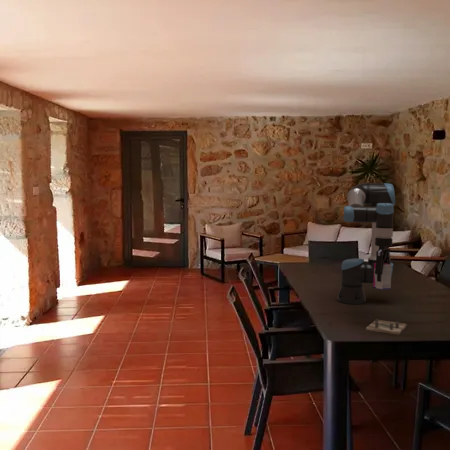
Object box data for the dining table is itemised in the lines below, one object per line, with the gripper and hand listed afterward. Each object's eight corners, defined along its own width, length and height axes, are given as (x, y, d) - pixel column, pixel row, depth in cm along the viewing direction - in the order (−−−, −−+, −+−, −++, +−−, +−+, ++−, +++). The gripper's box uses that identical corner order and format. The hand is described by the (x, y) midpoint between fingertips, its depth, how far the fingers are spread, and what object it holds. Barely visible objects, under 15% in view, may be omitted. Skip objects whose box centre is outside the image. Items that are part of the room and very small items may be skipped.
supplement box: (391, 289, 243) (392, 264, 242) (379, 290, 241) (380, 264, 240) (384, 287, 249) (384, 262, 248) (372, 287, 247) (373, 262, 246)
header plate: (376, 321, 254) (376, 314, 254) (406, 326, 247) (406, 318, 246) (366, 329, 240) (366, 322, 240) (398, 334, 233) (398, 326, 233)
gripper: (382, 235, 254) (380, 282, 256) (368, 238, 236) (366, 289, 238) (398, 236, 250) (396, 284, 252) (385, 239, 232) (383, 291, 234)
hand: (382, 287), depth 245 cm, fingers closed on supplement box, 8 cm apart
